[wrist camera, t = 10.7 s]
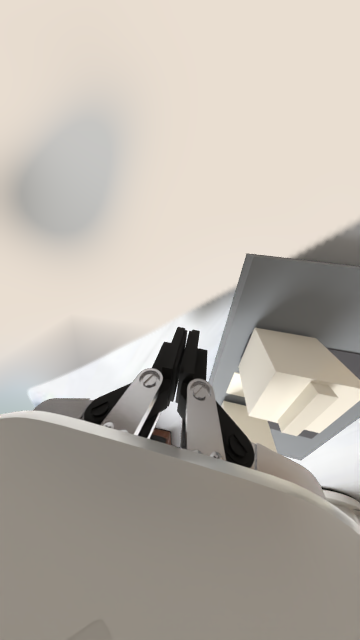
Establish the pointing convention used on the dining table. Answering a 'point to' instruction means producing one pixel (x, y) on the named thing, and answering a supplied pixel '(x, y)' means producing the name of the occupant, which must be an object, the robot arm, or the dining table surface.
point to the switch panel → (292, 328)
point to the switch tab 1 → (250, 425)
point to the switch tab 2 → (295, 382)
